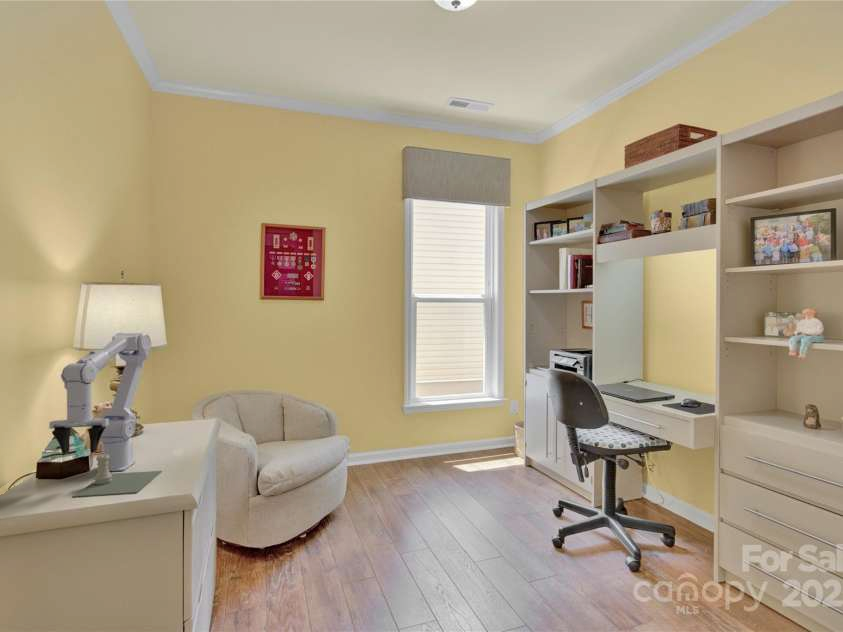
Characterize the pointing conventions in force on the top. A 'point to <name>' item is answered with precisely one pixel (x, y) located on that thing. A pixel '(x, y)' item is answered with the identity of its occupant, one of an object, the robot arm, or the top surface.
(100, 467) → the rook chess piece
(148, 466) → the top surface
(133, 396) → the robot arm
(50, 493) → the top surface
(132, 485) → the mat
